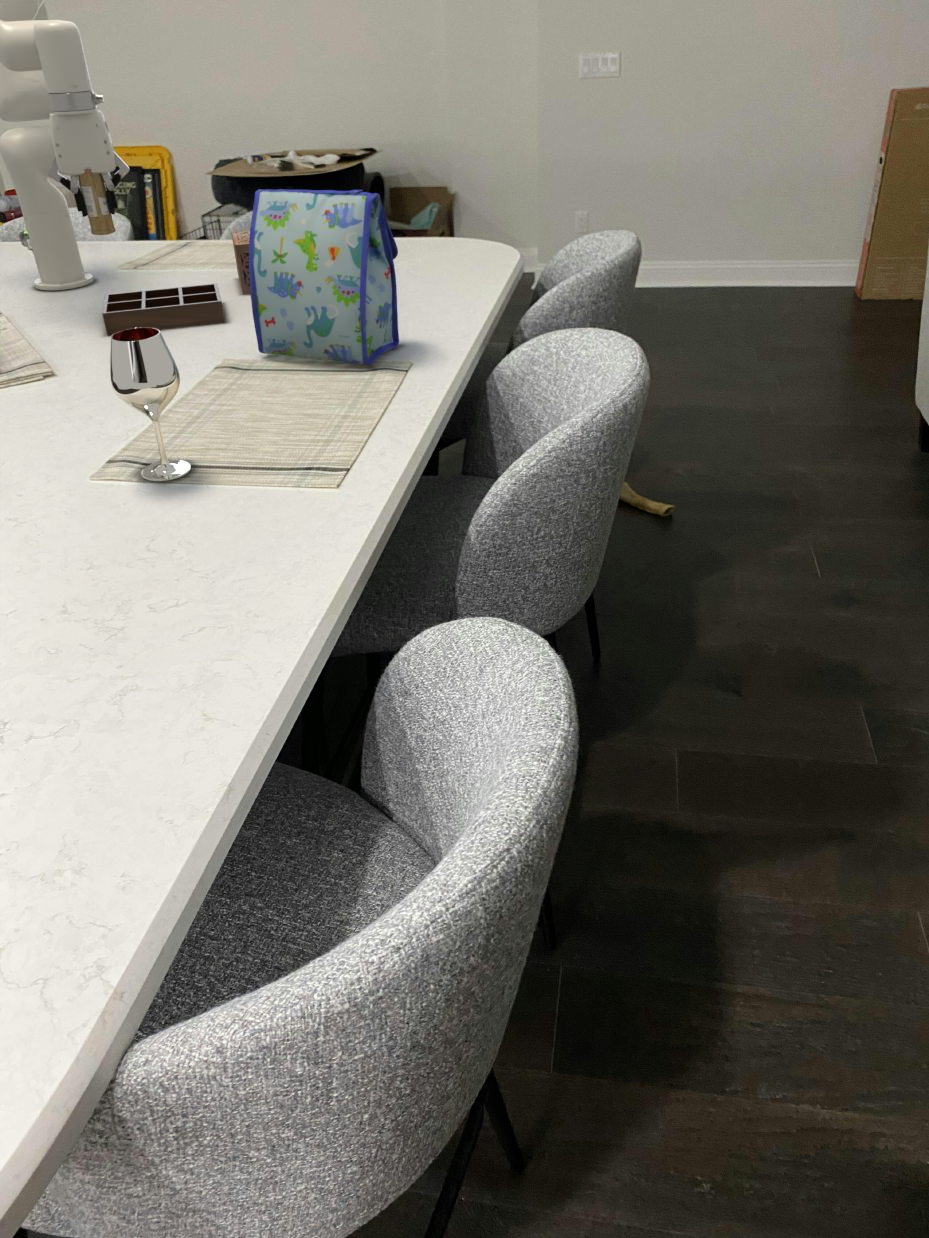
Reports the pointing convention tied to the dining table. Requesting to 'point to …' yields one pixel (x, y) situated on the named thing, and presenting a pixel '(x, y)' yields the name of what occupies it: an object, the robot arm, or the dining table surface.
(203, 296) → the tray
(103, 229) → the sprinkles bottle
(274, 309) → the lunch bag
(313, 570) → the dining table surface
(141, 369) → the wineglass
